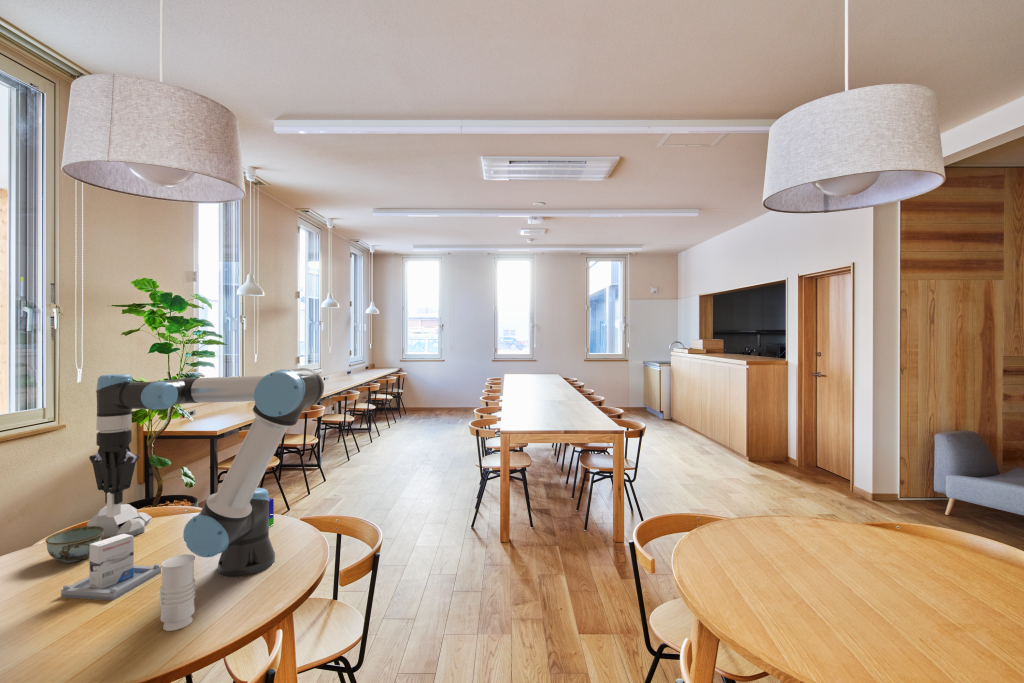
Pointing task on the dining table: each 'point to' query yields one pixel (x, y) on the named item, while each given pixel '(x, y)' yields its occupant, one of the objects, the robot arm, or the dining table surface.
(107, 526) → the rock
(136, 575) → the grey square tray
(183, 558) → the white ribbed cylinder
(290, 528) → the dining table surface
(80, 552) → the bowl
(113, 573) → the ink box
